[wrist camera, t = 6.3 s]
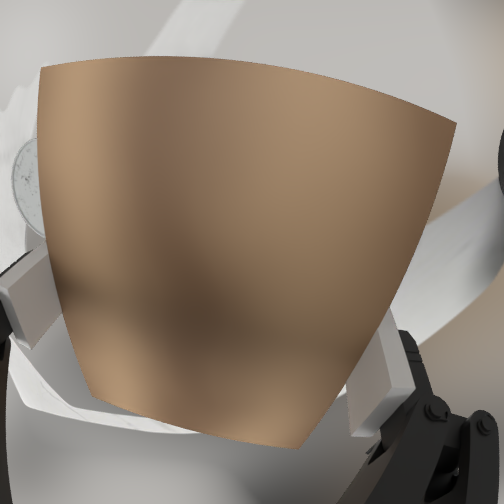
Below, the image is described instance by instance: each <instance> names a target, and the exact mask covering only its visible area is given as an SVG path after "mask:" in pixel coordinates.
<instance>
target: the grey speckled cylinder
mask: <svg viewBox="0 0 504 504" xmlns="http://www.w3.org/2000/svg"><path fill="white" fill-rule="evenodd" d="M11 180H12V191H13V196H14V200H15V203H16V205H17V208H18V210H19V212H20V214H21V216H22V218H23V219H24V221H25V222H26V223H27V225H28V226H29V227H30V228H31V229H32V230H33V231H34V232H36V233H37V234H39V235H40V236H42V237H44V238H46V237H45V231H44V224H43V217H42V209H41V200H40V190H39V177H38V158H37V138H35V139H31V140H30V141H28V142H26V143H25V144H24V145H23V146H22V147H21V149H20V150H19V151H18V153H17V155H16V157H15V160H14V163H13V167H12V176H11Z"/></svg>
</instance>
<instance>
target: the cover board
mask: <svg viewBox="0 0 504 504" xmlns="http://www.w3.org/2000/svg"><path fill="white" fill-rule="evenodd" d="M456 124H457V123H456V122H453V121H451V120H449V119H447V118H445V117H443V116H440V115H438V114H436V113H434V112H431V111H429V110H426V109H424V108H422V107H419V106H417V105H414V104H412V103H409V102H406V101H404V100H401V99H398V98H396V97H393V96H390V95H387V94H384V93H381V92H378V91H375V90H372V89H369V88H366V87H362V86H359V85H355V84H352V83H349V82H345V81H341V80H337V79H334V78H330V77H326V76H322V75H317V74H313V73H309V72H304V71H299V70H294V69H289V68H283V67H277V66H271V65H266V64H258V63H252V62H244V61H235V60H225V59H214V58H200V57H177V56H143V57H120V58H106V59H95V60H86V61H78V62H71V63H64V64H58V65H52V66H47V67H41V71H40V81H39V93H38V112H37V158H38V177H39V190H40V200H41V209H42V217H43V224H44V231H45V237H46V243H47V249H48V254H49V259H50V264H51V268H52V273H53V278H54V282H55V286H56V290H57V294H58V298H59V302H60V306H61V309H62V313H63V317H64V320H65V323H66V327H67V330H68V333H69V336H70V339H71V342H72V345H73V348H74V351H75V354H76V357H77V359H78V362H79V365H80V367H81V370H82V373H83V375H84V378H85V380H86V383H87V385H88V388H89V390H90V392H91V395H92V396H93V397H95V398H97V399H100V400H102V401H105V402H107V403H109V404H112V405H115V406H117V407H120V408H122V409H125V410H128V411H131V412H133V413H136V414H139V415H142V416H145V417H148V418H151V419H154V420H157V421H161V422H164V423H167V424H171V425H174V426H178V427H181V428H185V429H189V430H192V431H196V432H200V433H204V434H209V435H213V436H217V437H222V438H227V439H232V440H237V441H243V442H248V443H254V444H260V445H267V446H274V447H282V448H291V449H299V448H300V447H301V445H302V444H303V443H304V442H305V440H306V439H307V438H308V437H309V435H310V434H311V432H312V431H313V430H314V429H315V427H316V426H317V424H318V423H319V422H320V420H321V419H322V417H323V416H324V415H325V413H326V412H327V410H328V409H329V407H330V406H331V404H332V403H333V402H334V400H335V399H336V397H337V396H338V394H339V393H340V391H341V390H342V388H343V387H344V385H345V383H346V381H347V379H348V378H349V376H350V375H351V373H352V371H353V370H354V368H355V366H356V365H357V363H358V361H359V360H360V358H361V356H362V355H363V353H364V351H365V349H366V348H367V346H368V344H369V342H370V341H371V339H372V337H373V335H374V333H375V332H376V330H377V328H378V327H379V325H380V324H381V322H382V320H383V318H384V316H385V314H386V312H387V310H388V308H389V306H390V304H391V302H392V300H393V298H394V296H395V294H396V292H397V290H398V288H399V286H400V284H401V282H402V279H403V277H404V275H405V273H406V271H407V268H408V266H409V264H410V262H411V259H412V257H413V255H414V252H415V250H416V248H417V245H418V243H419V240H420V238H421V235H422V233H423V230H424V228H425V225H426V222H427V220H428V217H429V214H430V211H431V209H432V206H433V203H434V200H435V197H436V194H437V191H438V188H439V185H440V182H441V179H442V176H443V173H444V169H445V166H446V163H447V159H448V156H449V152H450V148H451V144H452V141H453V137H454V133H455V129H456Z"/></svg>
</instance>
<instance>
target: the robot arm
mask: <svg viewBox="0 0 504 504" xmlns="http://www.w3.org/2000/svg"><path fill="white" fill-rule="evenodd" d="M498 172H499V180H500V185H501V188H502V191H503V194H504V130H503V133H502V136H501V140H500V146H499V153H498ZM61 313H62V309H61V306H60V302H59V298H58V294H57V290H56V286H55V282H54V278H53V273H52V268H51V264H50V259H49V254H48V249H47V243H46V241H44V242H43V243H42V244H40V245H39V246H38V247H37V248H35V249H34V250H32V251H29V252H27V253H25V254H24V255H22V256H21V257H20V258H19V259H18V260H17V262H14V263H13V264H11V265H10V267H8V268H7V269H6V270H4V271H3V272H2V273H1V274H0V504H13V503H12V497H11V490H10V483H9V475H8V465H7V452H6V421H5V420H6V390H7V376H8V366H9V357H10V349H11V341H10V338H9V335H10V334H11V333H12V332H13V333H14V335H15V337H16V339H17V341H18V343H20V344H21V345H23V346H25V347H27V348H28V349H30V350H32V348H33V347H34V346H35V345H36V343H37V342H38V341H39V340H40V338H41V337H42V336H43V335H44V334H45V332H46V331H47V330H48V328H49V327H50V326H51V325H52V324H53V323H54V321H55V320H56V319H57V318H58V317H59V315H60V314H61ZM346 390H347V400H348V412H349V424H350V436H356V437H357V436H358V437H372V436H373V435H374V434H375V433H376V432H377V431H378V430H379V429H380V432H381V439H380V440H379V441H378V442H377V443H376V444H375V445H373V446H372V447H371V448H370V449H369V450H368V451H367V452H366V454H369V453H370V455H369V456H368V458H367V460H366V461H365V463H364V464H363V466H362V468H361V469H360V471H359V472H358V474H357V475H356V477H355V478H354V480H353V481H352V483H351V484H350V485H349V487H348V488H347V490H346V491H345V492H344V494H343V495H342V497H341V498H340V499H339V501H338V502H337V503H336V504H497V503H498V489H499V436H498V427H497V423H496V421H495V419H494V418H493V416H491V414H490V413H488V412H486V411H484V410H478V411H476V412H474V413H473V414H472V415H471V416H470V417H469V418H465V417H462V416H458V415H455V414H452V413H451V411H450V408H449V406H448V405H447V404H446V402H445V401H443V400H442V399H441V398H440V397H437V396H435V395H433V392H432V388H431V385H430V382H429V379H428V376H427V373H426V370H425V367H424V364H423V363H422V358H421V355H420V354H419V350H418V347H417V344H416V341H415V340H414V339H413V337H412V336H411V335H410V334H409V332H408V331H404V330H398V329H397V326H396V324H395V321H394V318H393V315H392V312H391V309H390V307H389V308H388V310H387V312H386V314H385V316H384V318H383V320H382V322H381V324H380V325H379V327H378V328H377V330H376V332H375V333H374V335H373V337H372V339H371V341H370V342H369V344H368V346H367V348H366V349H365V351H364V353H363V355H362V356H361V358H360V360H359V361H358V363H357V365H356V366H355V368H354V370H353V371H352V373H351V375H350V376H349V378H348V379H347V381H346ZM458 468H459V470H458Z"/></svg>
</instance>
